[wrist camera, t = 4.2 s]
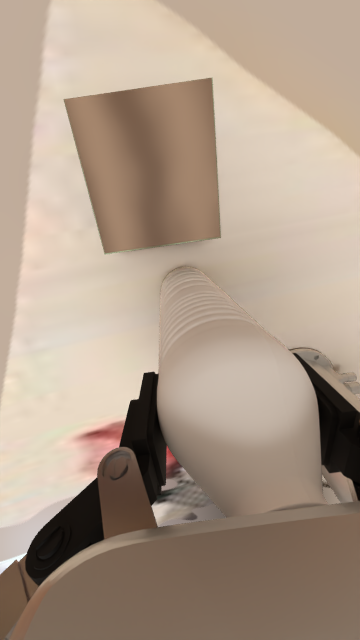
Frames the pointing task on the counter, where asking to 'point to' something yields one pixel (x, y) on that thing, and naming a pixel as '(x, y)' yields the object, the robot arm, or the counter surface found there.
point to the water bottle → (234, 402)
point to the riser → (149, 164)
